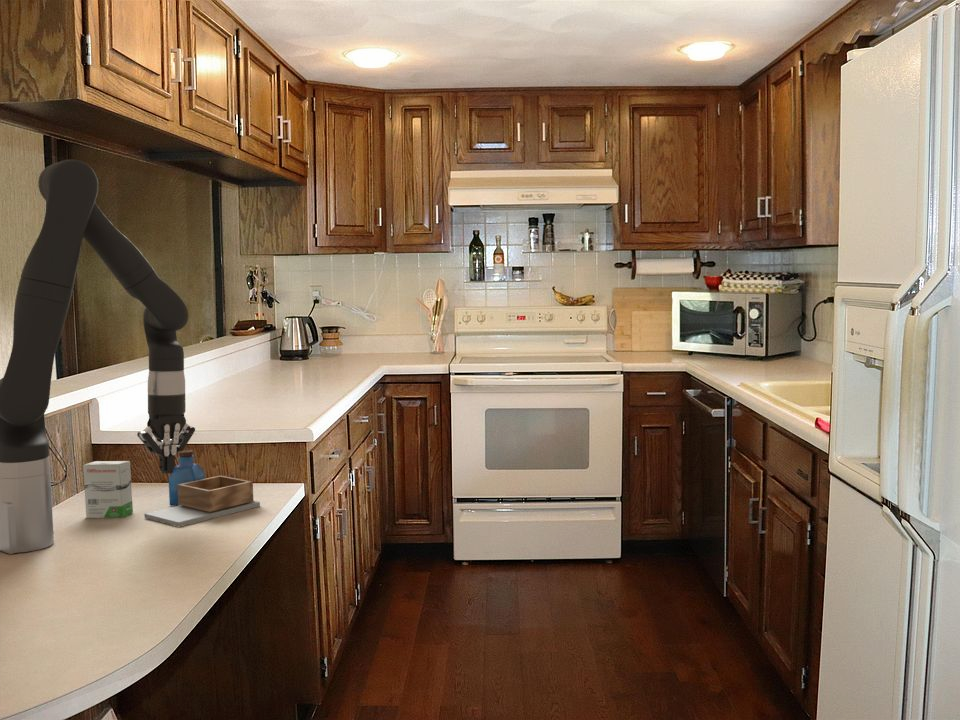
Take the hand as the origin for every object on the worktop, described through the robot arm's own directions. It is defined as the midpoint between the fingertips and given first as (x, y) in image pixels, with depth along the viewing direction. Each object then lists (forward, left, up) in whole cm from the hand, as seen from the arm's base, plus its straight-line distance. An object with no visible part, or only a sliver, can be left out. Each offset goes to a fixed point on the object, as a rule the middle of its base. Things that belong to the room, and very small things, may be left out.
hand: (167, 472), depth 185 cm
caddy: (+12, 0, -9) cm, 15 cm away
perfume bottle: (+12, +11, -11) cm, 19 cm away
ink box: (-5, +15, -11) cm, 19 cm away
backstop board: (+8, 0, -10) cm, 13 cm away
